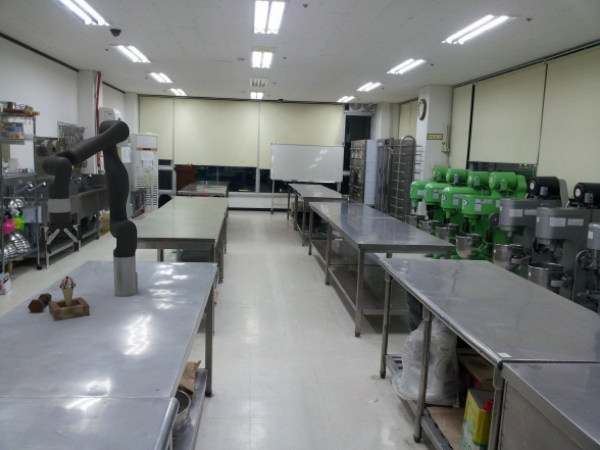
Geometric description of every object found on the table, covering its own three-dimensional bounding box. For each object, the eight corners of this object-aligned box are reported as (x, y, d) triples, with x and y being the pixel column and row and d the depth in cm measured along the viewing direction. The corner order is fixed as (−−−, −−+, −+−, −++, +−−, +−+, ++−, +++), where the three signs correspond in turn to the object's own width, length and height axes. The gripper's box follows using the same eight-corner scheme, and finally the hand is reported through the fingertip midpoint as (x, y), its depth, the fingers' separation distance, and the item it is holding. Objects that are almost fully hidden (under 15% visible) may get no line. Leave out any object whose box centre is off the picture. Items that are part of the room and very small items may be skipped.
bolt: (50, 305, 199) (38, 316, 184) (38, 299, 198) (25, 310, 183) (57, 293, 199) (45, 303, 184) (45, 287, 197) (33, 297, 183)
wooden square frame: (81, 306, 192) (81, 297, 192) (89, 315, 183) (89, 305, 182) (49, 311, 185) (48, 301, 185) (55, 321, 176) (54, 310, 175)
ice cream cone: (64, 311, 187) (62, 273, 184) (79, 311, 187) (77, 274, 185) (58, 316, 181) (56, 277, 179) (73, 316, 182) (72, 278, 179)
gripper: (78, 208, 185) (81, 248, 188) (37, 210, 177) (40, 252, 180) (82, 210, 179) (84, 252, 181) (39, 212, 171) (42, 256, 174)
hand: (62, 252), depth 181 cm, fingers open, 8 cm apart
